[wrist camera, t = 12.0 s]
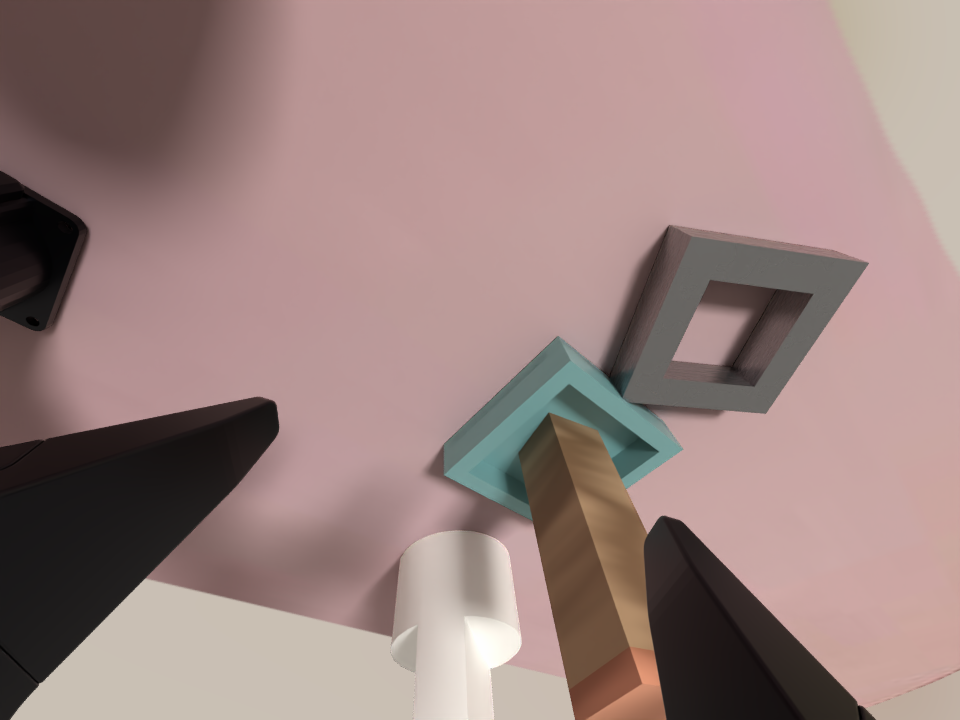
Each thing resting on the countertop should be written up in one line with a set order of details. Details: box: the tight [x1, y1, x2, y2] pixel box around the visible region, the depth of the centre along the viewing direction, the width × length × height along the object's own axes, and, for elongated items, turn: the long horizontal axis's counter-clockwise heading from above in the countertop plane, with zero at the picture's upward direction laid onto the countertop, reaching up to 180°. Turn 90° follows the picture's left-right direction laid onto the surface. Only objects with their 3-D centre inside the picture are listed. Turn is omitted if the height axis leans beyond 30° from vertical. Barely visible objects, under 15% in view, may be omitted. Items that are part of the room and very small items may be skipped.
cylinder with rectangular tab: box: [391, 530, 521, 720], centre depth 27 cm, size 9×9×12 cm
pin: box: [518, 412, 666, 720], centre depth 19 cm, size 4×4×13 cm
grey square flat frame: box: [609, 225, 869, 414], centre depth 21 cm, size 9×9×2 cm
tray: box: [444, 336, 683, 521], centre depth 24 cm, size 10×10×2 cm
